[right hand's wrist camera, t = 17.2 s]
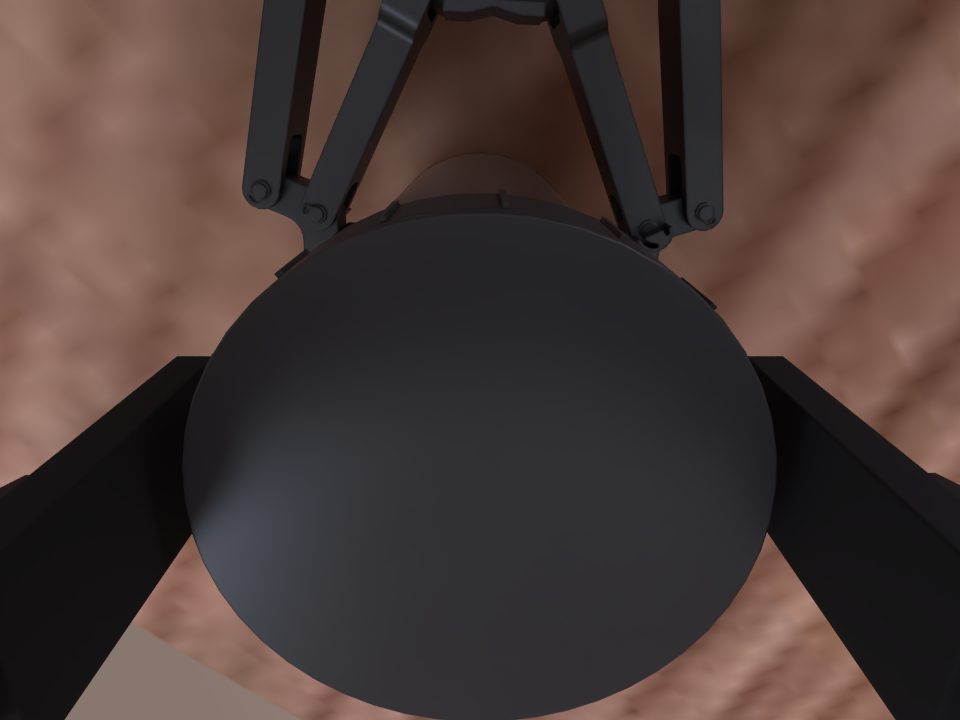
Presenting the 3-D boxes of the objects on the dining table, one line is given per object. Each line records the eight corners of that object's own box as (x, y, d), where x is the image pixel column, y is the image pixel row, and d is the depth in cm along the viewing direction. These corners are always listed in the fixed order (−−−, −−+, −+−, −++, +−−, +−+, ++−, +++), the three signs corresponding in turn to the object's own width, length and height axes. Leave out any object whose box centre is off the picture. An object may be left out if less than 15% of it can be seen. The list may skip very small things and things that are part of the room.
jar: (395, 140, 27) (220, 196, 9) (589, 167, 28) (803, 275, 9) (380, 326, 30) (228, 651, 12) (554, 348, 31) (665, 695, 12)
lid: (222, 604, 13) (176, 691, 11) (234, 141, 10) (173, 147, 8) (651, 660, 14) (679, 752, 12) (801, 240, 11) (877, 271, 9)
